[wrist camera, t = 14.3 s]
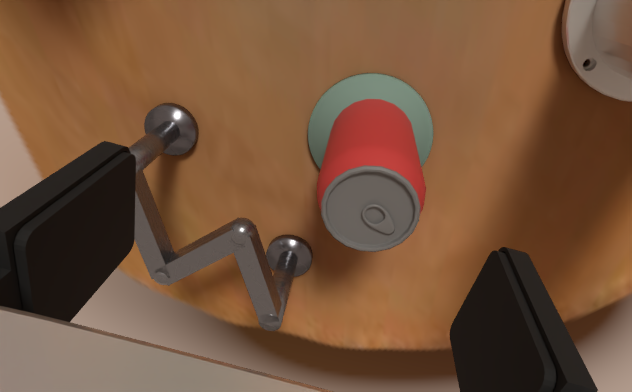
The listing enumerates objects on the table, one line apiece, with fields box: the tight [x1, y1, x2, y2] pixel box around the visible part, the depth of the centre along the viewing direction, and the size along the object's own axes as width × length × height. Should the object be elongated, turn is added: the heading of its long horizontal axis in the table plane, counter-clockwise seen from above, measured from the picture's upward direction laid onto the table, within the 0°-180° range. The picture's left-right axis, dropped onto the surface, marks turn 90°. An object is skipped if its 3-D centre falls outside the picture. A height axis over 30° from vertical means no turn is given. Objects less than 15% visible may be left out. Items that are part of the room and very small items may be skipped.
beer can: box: [317, 99, 426, 252], centre depth 29 cm, size 7×7×12 cm
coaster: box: [308, 73, 433, 170], centre depth 35 cm, size 10×10×1 cm
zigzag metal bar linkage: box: [129, 103, 312, 331], centre depth 35 cm, size 17×13×9 cm
